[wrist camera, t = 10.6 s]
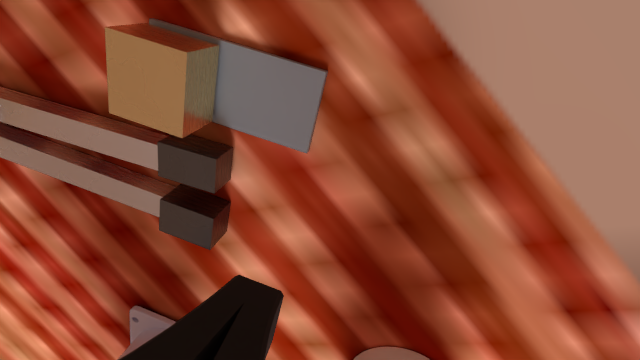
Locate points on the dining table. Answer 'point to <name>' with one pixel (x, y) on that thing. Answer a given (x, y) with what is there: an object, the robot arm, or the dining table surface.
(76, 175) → the dark-tipped long bar
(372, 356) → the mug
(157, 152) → the tong arm
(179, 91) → the block
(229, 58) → the plate
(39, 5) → the dining table surface
